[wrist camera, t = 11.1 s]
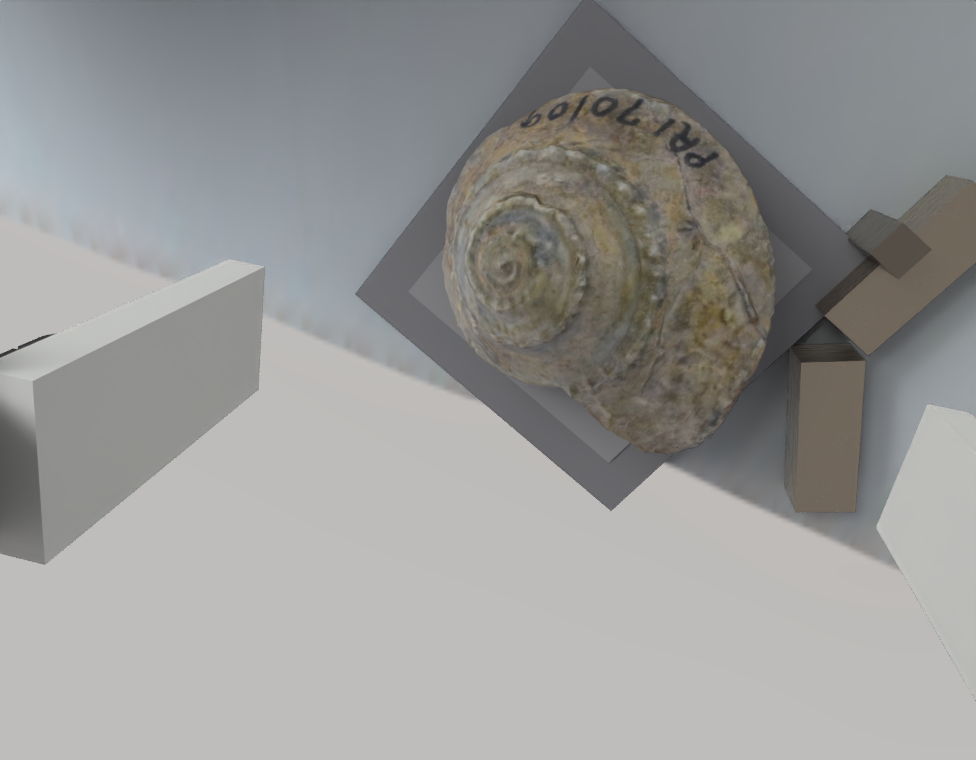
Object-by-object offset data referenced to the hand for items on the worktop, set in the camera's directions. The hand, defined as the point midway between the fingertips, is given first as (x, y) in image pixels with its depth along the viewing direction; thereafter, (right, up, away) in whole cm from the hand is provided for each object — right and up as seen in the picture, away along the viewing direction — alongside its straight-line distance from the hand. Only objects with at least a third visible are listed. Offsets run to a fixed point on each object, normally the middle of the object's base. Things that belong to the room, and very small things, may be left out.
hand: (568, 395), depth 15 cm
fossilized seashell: (+3, +4, +12) cm, 13 cm away
